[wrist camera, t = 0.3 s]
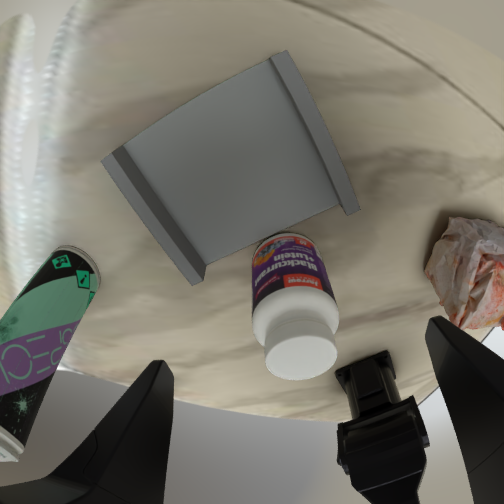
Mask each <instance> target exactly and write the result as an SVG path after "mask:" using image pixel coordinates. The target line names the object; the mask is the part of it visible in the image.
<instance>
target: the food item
mask: <svg viewBox="0 0 504 504" xmlns="http://www.w3.org/2000/svg"><path fill="white" fill-rule="evenodd" d="M424 272H425V274H426V275H427V277H428V278H429V280H430V281H431V283H432V285H433V287H434V289H435V291H436V294H437V295H438V296H439V298H440V302H439V303H440V305H441V306H444V308H445V311H446V313H447V315H448V316H449V320H450V321H451V323H453V324H454V325H456V326H457V327H459V328H460V329H462V330H464V329H466V328H469V329H480V328H485V327H499V326H501V327H502V330H504V229H503V228H502V227H498V226H497V225H496V224H495V223H494V222H492V221H491V220H487V221H485V220H480V219H478V218H477V219H473V220H471V219H465V218H462V217H457V218H451V217H450V216H449V224H448V227H447V230H446V231H445V232H444V233H443V235H442V237H441V238H440V240H439V241H437V242H436V243H435V246H434V248H433V251H432V255H431V257H430V259H429V261H428V263H427V265H426V268H425V271H424Z"/></svg>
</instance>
